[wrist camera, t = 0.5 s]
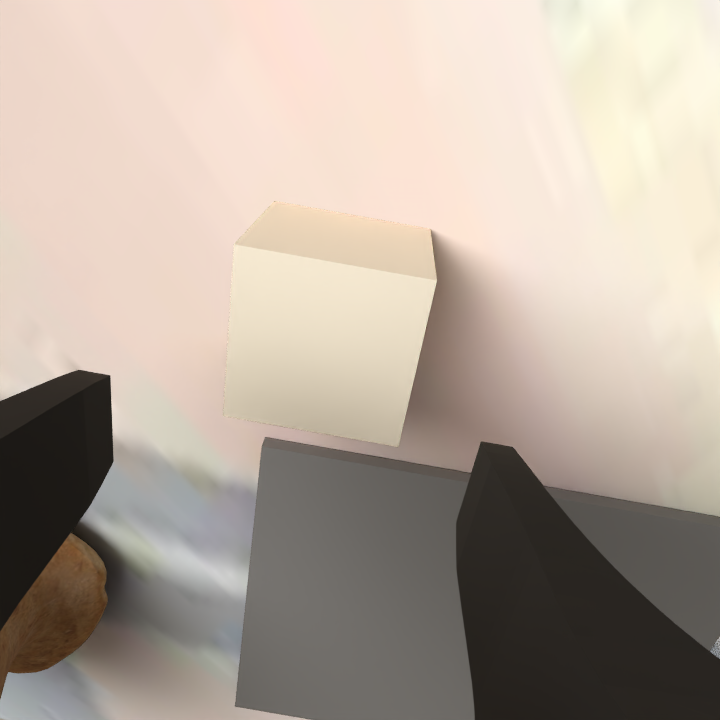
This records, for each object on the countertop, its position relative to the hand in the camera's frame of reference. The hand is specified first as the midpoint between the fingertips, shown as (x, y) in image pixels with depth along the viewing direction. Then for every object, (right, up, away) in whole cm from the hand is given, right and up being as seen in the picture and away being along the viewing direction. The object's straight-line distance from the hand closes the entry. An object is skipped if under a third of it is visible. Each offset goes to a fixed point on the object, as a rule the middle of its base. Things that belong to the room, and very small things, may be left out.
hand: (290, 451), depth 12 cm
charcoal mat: (+6, -10, +15) cm, 19 cm away
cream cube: (+1, +4, +8) cm, 10 cm away
